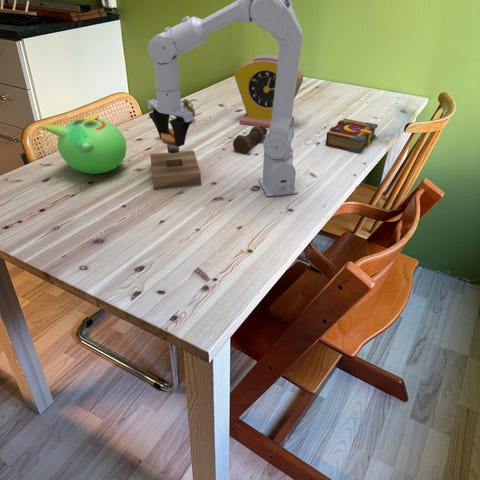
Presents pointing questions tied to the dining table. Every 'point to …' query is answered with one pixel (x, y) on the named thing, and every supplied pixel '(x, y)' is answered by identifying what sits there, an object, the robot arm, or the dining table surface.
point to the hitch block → (175, 169)
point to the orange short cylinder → (169, 140)
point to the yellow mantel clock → (259, 89)
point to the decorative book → (351, 135)
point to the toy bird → (90, 144)
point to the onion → (188, 106)
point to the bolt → (249, 139)
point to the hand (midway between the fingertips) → (172, 142)
